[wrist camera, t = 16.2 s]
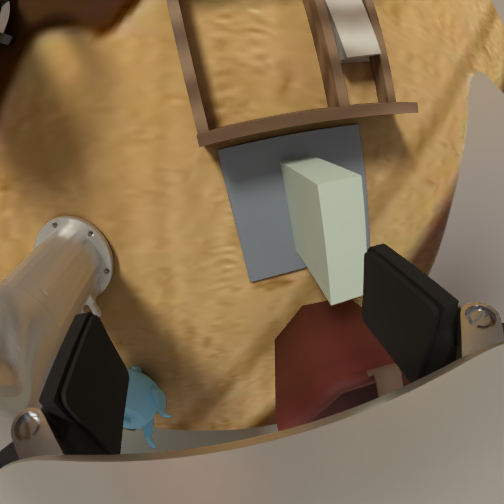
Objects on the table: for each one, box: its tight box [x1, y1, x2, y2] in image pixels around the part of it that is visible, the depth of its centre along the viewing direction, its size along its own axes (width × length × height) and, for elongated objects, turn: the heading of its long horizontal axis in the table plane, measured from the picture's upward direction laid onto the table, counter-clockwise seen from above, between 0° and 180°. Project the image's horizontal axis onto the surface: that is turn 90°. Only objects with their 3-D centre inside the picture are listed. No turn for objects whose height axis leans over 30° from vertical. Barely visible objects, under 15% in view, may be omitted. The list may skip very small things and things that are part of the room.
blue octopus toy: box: [123, 365, 172, 448], centre depth 43 cm, size 13×13×10 cm
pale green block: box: [280, 155, 367, 305], centre depth 32 cm, size 12×4×13 cm, turn 12°
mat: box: [217, 124, 370, 282], centre depth 38 cm, size 18×18×1 cm
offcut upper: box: [324, 0, 381, 60], centre depth 26 cm, size 10×5×2 cm, turn 18°
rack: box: [167, 0, 418, 147], centre depth 25 cm, size 25×25×7 cm
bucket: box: [275, 299, 410, 431], centre depth 37 cm, size 24×22×25 cm
